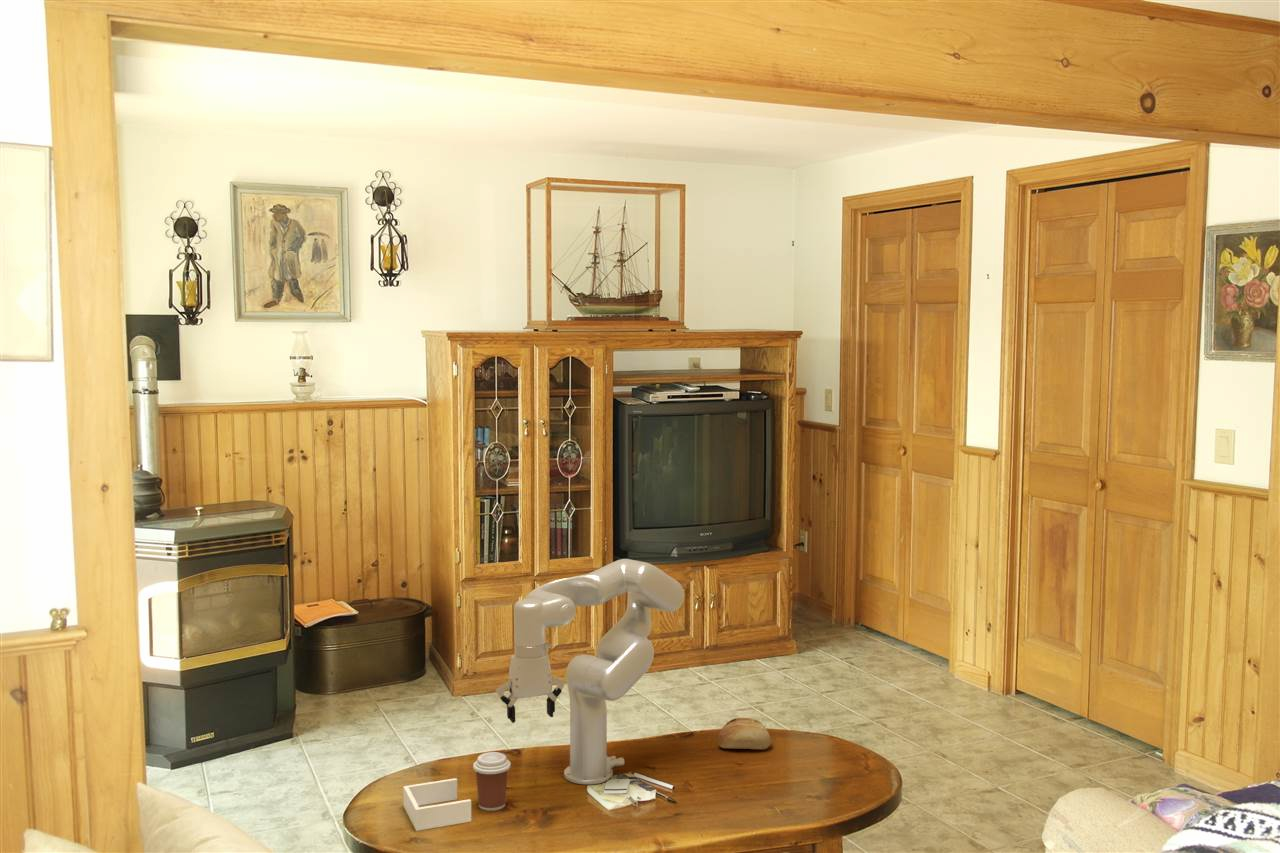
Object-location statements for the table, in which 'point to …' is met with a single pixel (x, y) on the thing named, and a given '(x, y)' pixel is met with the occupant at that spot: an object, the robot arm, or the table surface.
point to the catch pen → (435, 813)
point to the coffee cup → (491, 780)
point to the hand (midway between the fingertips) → (531, 718)
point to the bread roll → (744, 735)
